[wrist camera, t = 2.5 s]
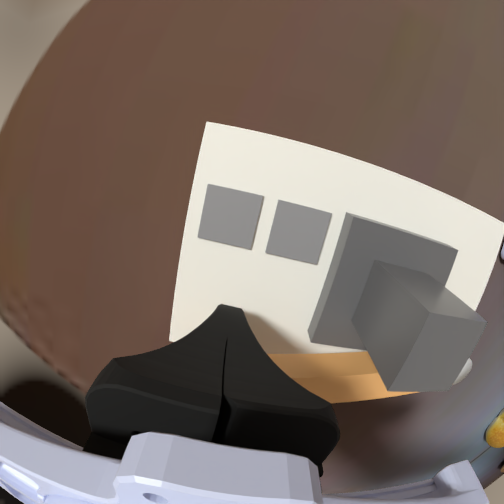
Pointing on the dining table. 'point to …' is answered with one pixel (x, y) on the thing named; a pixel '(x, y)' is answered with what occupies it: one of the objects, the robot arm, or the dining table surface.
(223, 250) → the white flat panel
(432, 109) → the dining table surface
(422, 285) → the plug
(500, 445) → the bread roll
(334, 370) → the tan wooden plank
